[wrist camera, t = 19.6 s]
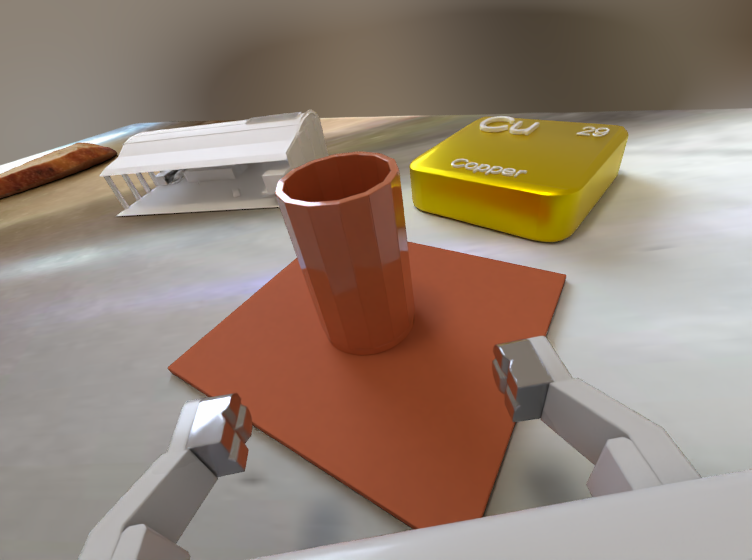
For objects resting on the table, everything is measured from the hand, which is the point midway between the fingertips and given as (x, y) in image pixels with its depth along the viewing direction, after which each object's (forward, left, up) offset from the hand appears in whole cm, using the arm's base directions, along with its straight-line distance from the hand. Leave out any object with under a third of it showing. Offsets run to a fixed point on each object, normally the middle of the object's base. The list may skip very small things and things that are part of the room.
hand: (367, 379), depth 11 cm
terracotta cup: (+8, +6, -7) cm, 12 cm away
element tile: (+29, +3, -8) cm, 30 cm away
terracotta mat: (+8, +6, -8) cm, 13 cm away
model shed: (+21, +38, -8) cm, 44 cm away
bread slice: (+15, +78, -8) cm, 80 cm away
